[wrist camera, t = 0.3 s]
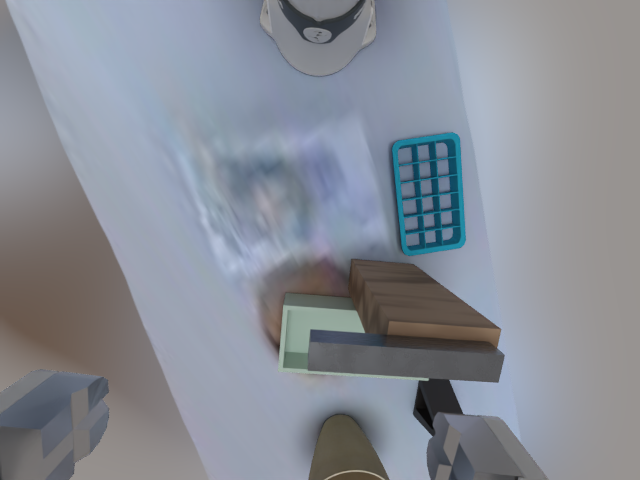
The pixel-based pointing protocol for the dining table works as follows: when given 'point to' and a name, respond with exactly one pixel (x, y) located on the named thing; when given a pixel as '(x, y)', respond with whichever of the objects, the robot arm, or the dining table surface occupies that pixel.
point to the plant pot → (345, 453)
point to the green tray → (317, 315)
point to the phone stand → (434, 401)
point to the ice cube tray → (455, 191)
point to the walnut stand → (413, 304)
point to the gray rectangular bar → (403, 356)
